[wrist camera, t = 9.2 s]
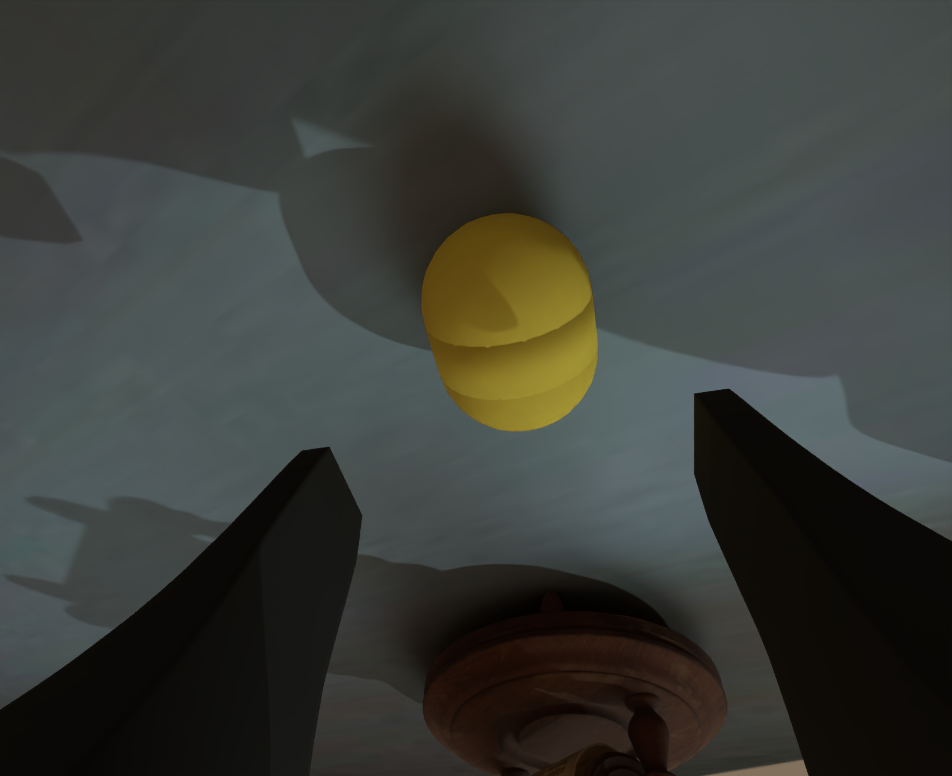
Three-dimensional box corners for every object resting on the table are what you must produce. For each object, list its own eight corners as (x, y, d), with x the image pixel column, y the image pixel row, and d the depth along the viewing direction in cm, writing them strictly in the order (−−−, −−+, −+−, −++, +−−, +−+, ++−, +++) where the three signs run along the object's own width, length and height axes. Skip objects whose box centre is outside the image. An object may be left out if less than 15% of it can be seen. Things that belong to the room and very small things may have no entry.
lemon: (594, 362, 19) (616, 453, 15) (461, 383, 20) (451, 475, 16) (572, 175, 16) (594, 232, 12) (413, 209, 16) (384, 273, 12)
